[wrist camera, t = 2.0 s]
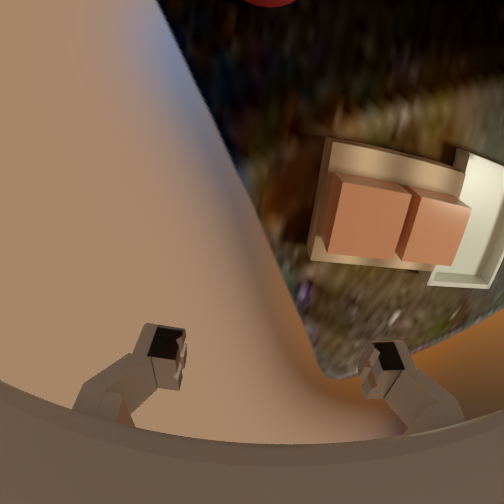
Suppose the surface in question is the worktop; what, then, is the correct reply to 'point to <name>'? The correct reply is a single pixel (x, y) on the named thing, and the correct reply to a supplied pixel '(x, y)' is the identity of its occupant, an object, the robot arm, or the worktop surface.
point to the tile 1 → (364, 216)
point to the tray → (476, 226)
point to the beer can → (269, 2)
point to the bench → (382, 168)
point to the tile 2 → (432, 227)
